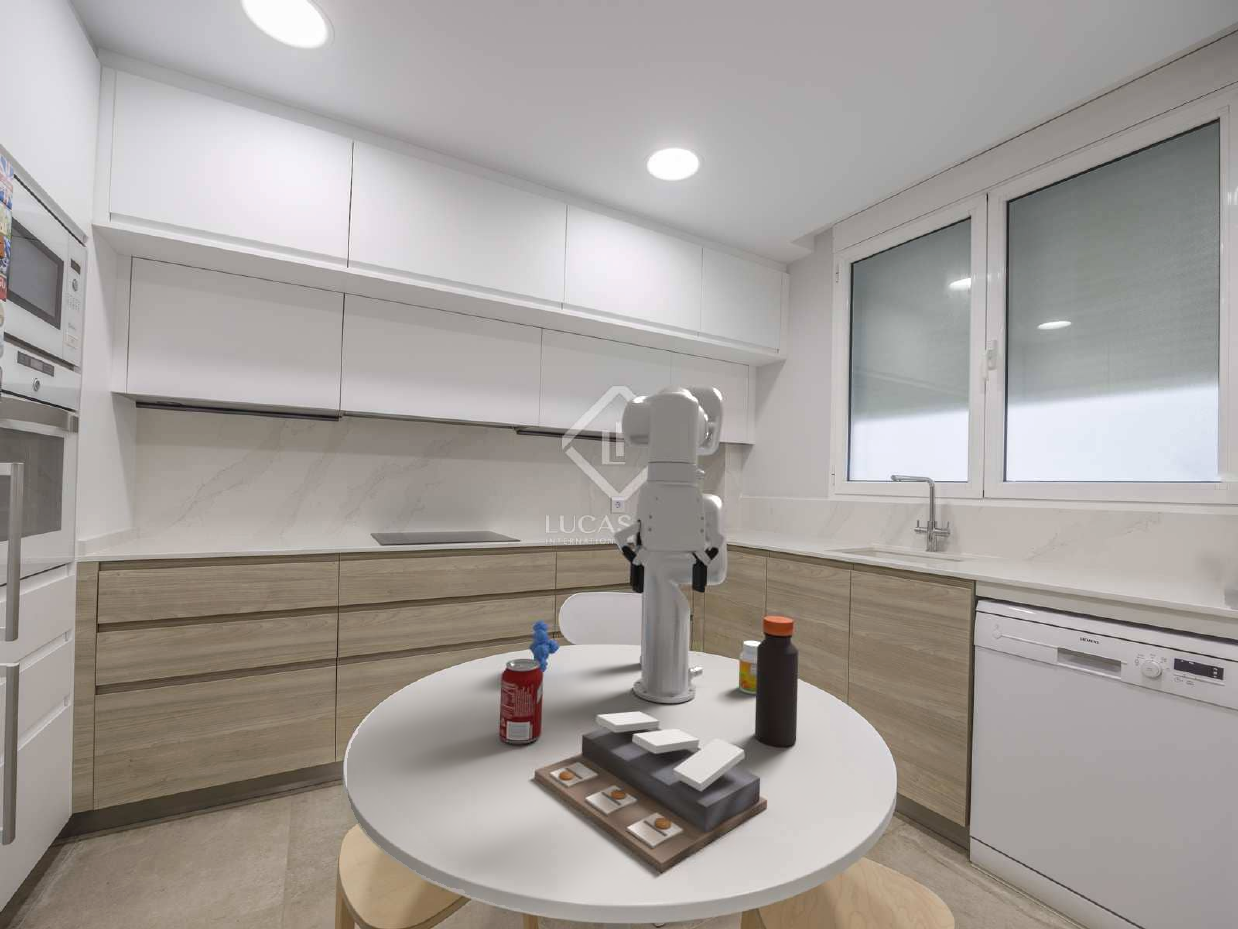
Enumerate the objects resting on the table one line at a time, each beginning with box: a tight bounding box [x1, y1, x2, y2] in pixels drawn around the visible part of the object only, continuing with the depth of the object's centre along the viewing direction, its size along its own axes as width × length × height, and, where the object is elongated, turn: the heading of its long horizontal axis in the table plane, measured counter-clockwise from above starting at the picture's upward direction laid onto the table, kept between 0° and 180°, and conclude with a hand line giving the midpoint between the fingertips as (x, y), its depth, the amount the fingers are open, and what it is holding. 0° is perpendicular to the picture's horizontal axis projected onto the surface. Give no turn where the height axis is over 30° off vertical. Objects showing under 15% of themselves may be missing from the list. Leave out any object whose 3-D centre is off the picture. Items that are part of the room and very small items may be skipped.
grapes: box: [528, 620, 560, 674], centre depth 123 cm, size 12×7×12 cm, turn 11°
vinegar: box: [754, 615, 799, 748], centre depth 96 cm, size 7×7×20 cm
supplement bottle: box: [738, 640, 761, 695], centre depth 118 cm, size 5×5×10 cm
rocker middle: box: [632, 728, 700, 754], centre depth 80 cm, size 9×4×1 cm, turn 131°
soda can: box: [498, 658, 544, 746], centre depth 93 cm, size 7×7×12 cm
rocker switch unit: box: [534, 727, 768, 873], centre depth 77 cm, size 20×25×4 cm
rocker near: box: [673, 737, 746, 791], centre depth 74 cm, size 9×4×1 cm, turn 132°
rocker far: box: [595, 711, 660, 733], centre depth 86 cm, size 9×4×1 cm, turn 131°
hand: (668, 591), depth 84 cm, fingers open, 9 cm apart
